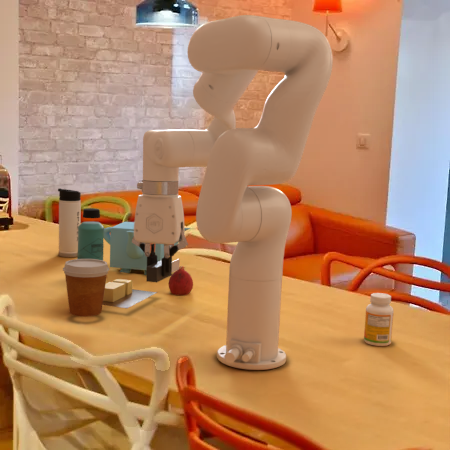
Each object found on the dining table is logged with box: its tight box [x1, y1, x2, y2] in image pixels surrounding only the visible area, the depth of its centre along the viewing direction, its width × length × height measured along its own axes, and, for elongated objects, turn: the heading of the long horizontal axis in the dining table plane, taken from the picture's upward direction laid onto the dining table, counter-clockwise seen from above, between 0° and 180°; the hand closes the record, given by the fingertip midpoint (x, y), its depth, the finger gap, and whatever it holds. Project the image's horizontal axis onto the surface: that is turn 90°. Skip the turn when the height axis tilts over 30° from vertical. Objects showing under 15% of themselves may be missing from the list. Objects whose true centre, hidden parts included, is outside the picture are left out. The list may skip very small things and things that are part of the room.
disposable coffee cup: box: [62, 258, 110, 317], centre depth 156 cm, size 10×10×12 cm
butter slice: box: [111, 278, 133, 295], centre depth 173 cm, size 2×4×3 cm, turn 71°
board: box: [102, 288, 158, 309], centre depth 170 cm, size 16×12×2 cm
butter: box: [103, 281, 125, 302], centre depth 168 cm, size 6×4×3 cm, turn 161°
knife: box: [145, 258, 181, 283], centre depth 162 cm, size 15×2×3 cm, turn 161°
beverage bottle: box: [76, 207, 105, 261], centre depth 180 cm, size 6×7×20 cm
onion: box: [167, 265, 194, 296], centre depth 176 cm, size 6×6×8 cm
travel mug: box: [57, 188, 82, 258], centre depth 220 cm, size 6×7×20 cm
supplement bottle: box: [363, 292, 394, 347], centre depth 148 cm, size 5×5×10 cm
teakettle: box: [103, 221, 191, 276], centre depth 203 cm, size 19×19×15 cm
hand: (159, 274), depth 159 cm, fingers closed on knife, 2 cm apart
